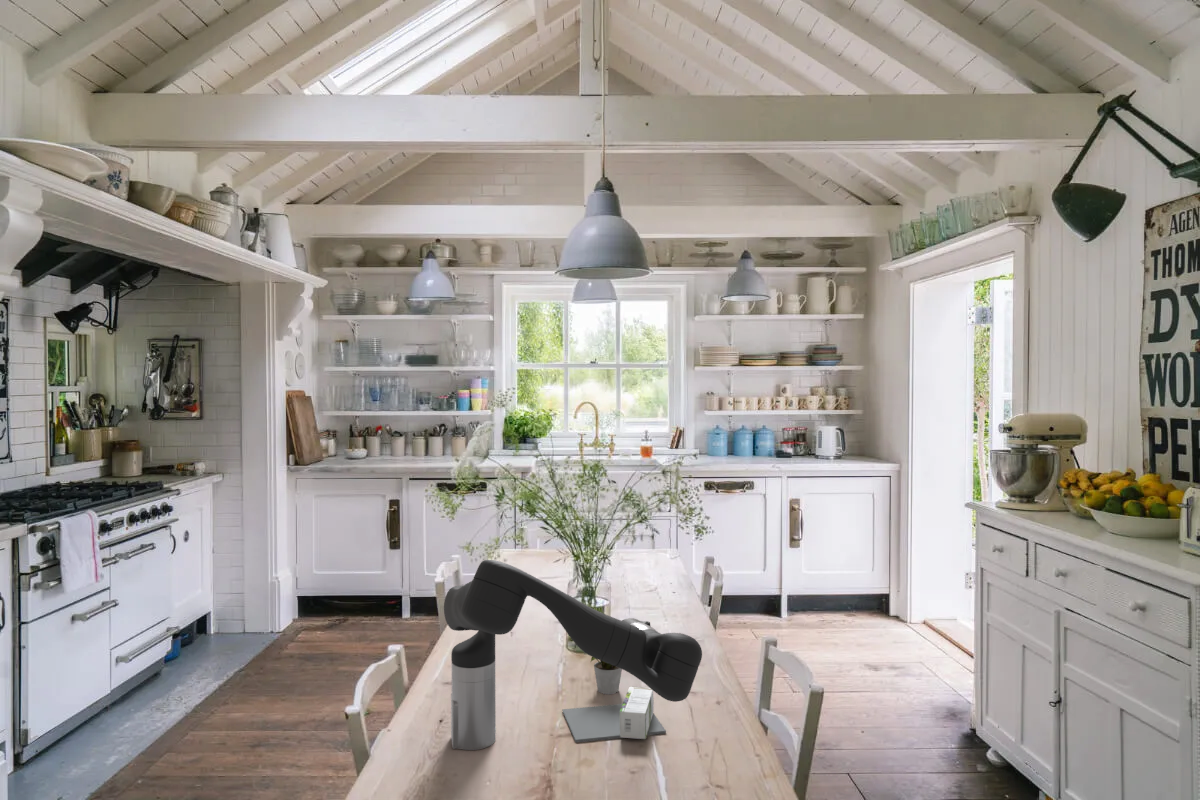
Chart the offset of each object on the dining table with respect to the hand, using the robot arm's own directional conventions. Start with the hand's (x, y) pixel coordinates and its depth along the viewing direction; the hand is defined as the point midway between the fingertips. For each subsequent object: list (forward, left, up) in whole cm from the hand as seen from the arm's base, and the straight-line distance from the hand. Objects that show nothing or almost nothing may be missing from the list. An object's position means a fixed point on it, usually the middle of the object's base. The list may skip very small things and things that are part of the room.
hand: (605, 624), depth 163 cm
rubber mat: (+5, +16, -27) cm, 32 cm away
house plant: (+7, +34, -27) cm, 44 cm away
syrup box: (+7, +5, -24) cm, 25 cm away
